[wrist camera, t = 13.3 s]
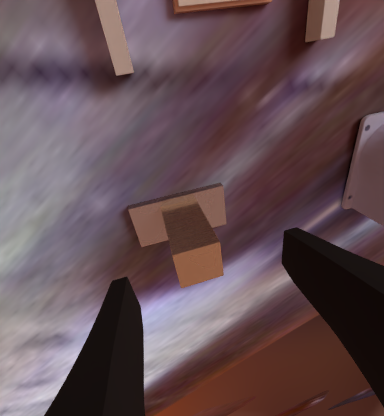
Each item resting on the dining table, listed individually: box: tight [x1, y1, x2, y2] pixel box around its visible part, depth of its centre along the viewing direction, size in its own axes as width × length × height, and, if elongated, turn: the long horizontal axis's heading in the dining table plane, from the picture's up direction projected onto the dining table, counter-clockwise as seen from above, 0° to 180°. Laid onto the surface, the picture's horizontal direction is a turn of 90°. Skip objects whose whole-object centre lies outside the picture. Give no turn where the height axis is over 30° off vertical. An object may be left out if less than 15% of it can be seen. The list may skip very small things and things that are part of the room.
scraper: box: [128, 183, 226, 288], centre depth 17 cm, size 4×8×7 cm, turn 99°
